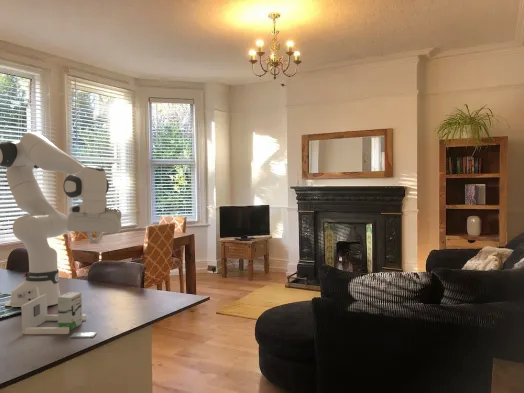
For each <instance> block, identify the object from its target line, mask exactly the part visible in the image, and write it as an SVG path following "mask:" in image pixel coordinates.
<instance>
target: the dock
mask: <svg viewBox="0 0 524 393" xmlns="http://www.w3.org/2000/svg"><path fill="white" fill-rule="evenodd" d="M20 310H21V332H22V335H68V334H69V335H70V330H69V327H58V326H57V327H55V326H54V327H53V326H52V327H51V326H50V327H48V326H46V327H43V326H42V327H39V326H40V325H42V324H43V323H45V322H47V321H48V322H50V321H53V322H54V321H55V322H56V321H57V322H58V314H48V306H47V294H43V295H41V296H39V297H37V298H35V299H33V300H31V301H29V302H27V303H25V304H24V305H22V306H21V308H20ZM83 321H87V314H82V322H83Z"/></svg>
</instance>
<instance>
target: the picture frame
mask: <svg viewBox="0 0 524 393" xmlns="http://www.w3.org/2000/svg"><path fill="white" fill-rule="evenodd" d="M96 335H97V331H96V332H95V331H94V332H93V331H91V332H72V334H69V336H68V338H67V339H69V338H73V339H93V338H94V337H96Z"/></svg>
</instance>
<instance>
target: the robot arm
mask: <svg viewBox="0 0 524 393" xmlns="http://www.w3.org/2000/svg"><path fill="white" fill-rule="evenodd" d="M0 167H3V168H7V169H6V171H5V175H6V181H7V185H8V187H9V189H10V192H11V194H12V197H13V199H14V201H15V203H16V205H17V207H18V208H19V209H20V210H21V211H22V212H23V211H24V212H26V213H27V214H26V215H23V216H20V217H17V218H15V220H14V222H12V223H13V224H12V233H13V235H14V236H15V238H16V239H17V240H20V241H21V242H22V244H23V245H24V247H25V249H26V251H27V256H28V268H29V271H28V272H25V273H23V278H25V280H24V281H23V282H21V283H19V285H18V286H16V287H15V288H13V290H12V291H11V294H10V299H9V300H8V301H7V302H5V303H4V307H5V306H12V307H11V308H13V307H21V306H22V305H24V304H25V303H27V302H29V301H31V300H33V299H35V298H37V297H39V296H41V295H43V294H47V307H49V306H55V305H58V297H60V296H62V294H61V291H60V285H59V282H60V272H59V268H58V253H57V251H56V249H54V248H53V247H51V246H50V245H49V242H48V239H50V238H51V239H52V238H57V237H60V236H61V235H64V234H66V233H68V232H74V233H77V232H80V233H81V232H82V233H86V236H87V237H88V239H89V243H90V245H92V244H93V245H99V244H100V239H101V237H102V235H103V233H109V234H110V233H111V234H115V233H120V232H121V231H122V211H121V210H120V209H118V208H110V207H109V208H108V206H107V205H108V203H107V200H108V199H107V193H108V191H109V189H110V183H109V180H108V178H107V174H106V173H107V172H106V170H105V168H103V167H101V166H97V165H86V164H83V163H82V162H81V161H79V159H77V158H74V157H73V156H71V155H70V154H68V153H66V152H65V151H63V149H60V148H59V147H57V146H56V145H55V144H54V143H53V142H51V141H50V140H49V139H48V138H47V137H45V136H43V135H42V134H40V133H37V132H36V131H35V132H34V131H30V132H26V133H25V134H23V135H22V137H20V140H15V141H3V142H0ZM34 169H36V170H38V169H42V170H44V171H50V172H58V173H64V174H68V175H67V176H66V177H65V179H64V182H63V186H62V187H63V191H64V194H65V195H66V196H67V197H68V198H70V199H71V198H72V199H82V203H78V204H77V205H73V206H70V207H69V209H68V210H69V214H68V215H66V214H65V213H63V212H60V211H59V210H58V209H56V208H55V206H53V205H52V204H51V203H50V201H48V199H47V198H46V197H45V195H44V193H43V191H42V190H41V187H40V185H39V182H38V181H37V178H36V177H35V175H34ZM94 233H95V234H96V235H97V236H96V238H94V237H93V234H94Z"/></svg>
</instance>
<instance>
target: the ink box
mask: <svg viewBox="0 0 524 393" xmlns="http://www.w3.org/2000/svg"><path fill="white" fill-rule="evenodd" d="M82 305H83V303H82V292H76V291H74V292H73V291H69V292H67V293H66V292H65V293H64V294H61V296H60V297H58V304H57V315H58V321H57V322H58V326H57V327H69V331H72V330H74V329H76V328H77V327H78V326H80V325H82V323H83V321H82V315H83V313H82V312H83V309H82V308H83V307H82Z"/></svg>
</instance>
